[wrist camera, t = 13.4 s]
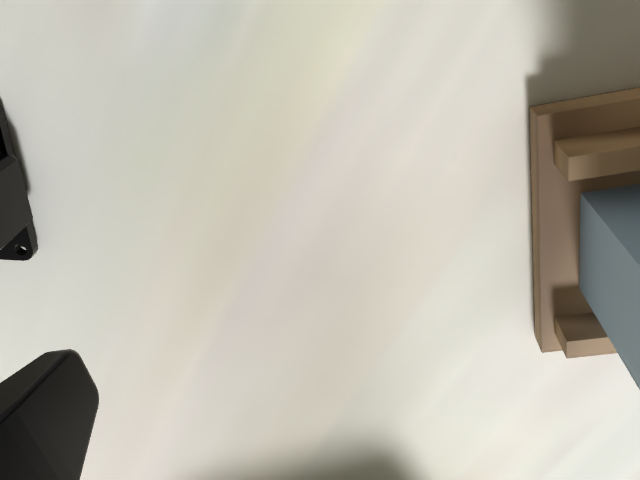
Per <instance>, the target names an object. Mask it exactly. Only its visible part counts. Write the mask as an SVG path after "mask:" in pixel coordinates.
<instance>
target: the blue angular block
mask: <svg viewBox="0 0 640 480" xmlns="http://www.w3.org/2000/svg"><path fill="white" fill-rule="evenodd" d="M579 289H580V290H581V292H582V294H583V295H584V297H585V299H586V300H587V302H588V304H589V305H590V307H591V309H592V311H593V312H594V314H595V316H596V317H597V319H598V321H599V322H600V324H601V326H602V327H603V329H604V331H605V332H606V334H607V336H608V337H609V339H610V341H611V342H612V344H613V346H614V347H615V349H616V351H617V352H618V354H619V356H620V357H621V359H622V361H623V362H624V364H625V366H626V368H627V369H628V371H629V373H630V374H631V376H632V378H633V379H634V381H635V383H636V384H637V386H638V388H639V389H640V184H635V185H629V186H622V187H616V188H609V189H603V190H596V191H590V192H583V193H581V202H580V261H579Z"/></svg>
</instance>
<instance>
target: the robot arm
mask: <svg viewBox="0 0 640 480" xmlns="http://www.w3.org/2000/svg"><path fill="white" fill-rule="evenodd" d="M32 219H33V216H32V212H31V208H30V204H29V200H28V196H27V192H26V189H25V185H24V181H23V177H22V173H21V169H20V165H19V161H18V160H17V158H16V157H15V155H14V151H13V147H12V143H11V139H10V135H9V131H8V127H7V123H6V119H5V116H4V112H3V109H2V107H1V105H0V259H3V260H22V261H24V260H29V259H30V258H32V257H33V255H34V254H35V253H36V252H37V250H38V245H37V241H36V237H35V233H34V229H33V225H32V221H31V220H32ZM19 244H20V245H23V246H24V247H25V248H26V250H24V249H22V248H21V247H20V245H19ZM98 404H99V394H98V390H97V387H96V385H95V383H94V381H93V379H92V378H91V376H90V374H89V372H88V370H87V368H86V366H85V364H84V362H83V360H82V359H81V357H80V355H79V354H78V353H77V352H76V351H74V350H71V349H67V350H59V351H51V352H47V353H44V354H43V355H41V356H40V357H38V358H37V359H35V360H34V361H32V362H31V363H29V364H28V365H26V366H25V367H23V368H22V369H20V370H19V371H18V372H16V373H15V374H13V375H12V376H10V377H9V378H7V379H6V380H4V381H3V382H1V383H0V480H80V476H81V472H82V468H83V464H84V460H85V456H86V452H87V448H88V444H89V440H90V437H91V433H92V429H93V425H94V421H95V417H96V413H97V409H98Z"/></svg>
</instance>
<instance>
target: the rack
mask: <svg viewBox="0 0 640 480" xmlns="http://www.w3.org/2000/svg"><path fill="white" fill-rule="evenodd" d="M529 108H530V148H531V188H532V228H533V269H534V309H535V338H536V340H537V342H538V345H539V347H540V349H541V352H542V353H543V352H552V351H561V350H563V352H564V354H565V356H566V358H575V357H584V356H593V355H602V354H611V353H618V352H617V351H616V349H615V347H614V346H613V344H612V342H611V341H610V339H609V337H608V336H607V334H606V332H605V331H604V329H603V327H602V326H601V324H600V322H599V321H598V319H597V317H596V316H595V314H594V312H593V311H592V309H591V307H590V305H589V304H588V302H587V300H586V299H585V297H584V295H583V294H582V292H581V290H580V289H579V261H580V202H581V193H583V192H590V191H596V190H603V189H609V188H616V187H622V186H629V185H635V184H640V88H634V89H628V90H623V91H617V92H611V93H605V94H600V95H594V96H588V97H582V98H577V99H571V100H565V101H560V102H554V103H548V104H542V105H537V106H531V107H529Z"/></svg>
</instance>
